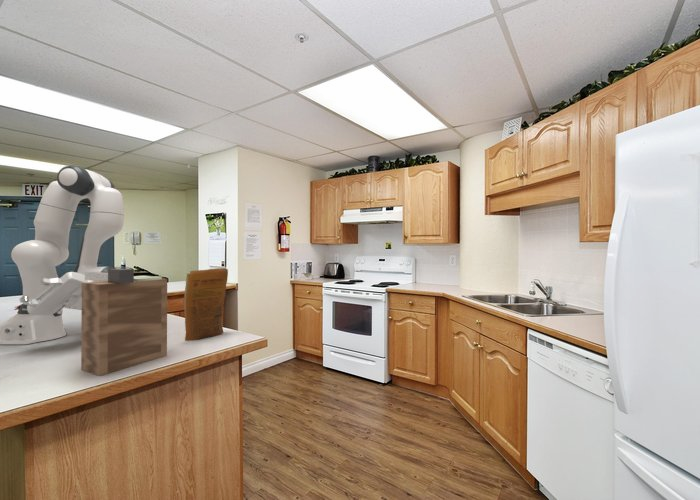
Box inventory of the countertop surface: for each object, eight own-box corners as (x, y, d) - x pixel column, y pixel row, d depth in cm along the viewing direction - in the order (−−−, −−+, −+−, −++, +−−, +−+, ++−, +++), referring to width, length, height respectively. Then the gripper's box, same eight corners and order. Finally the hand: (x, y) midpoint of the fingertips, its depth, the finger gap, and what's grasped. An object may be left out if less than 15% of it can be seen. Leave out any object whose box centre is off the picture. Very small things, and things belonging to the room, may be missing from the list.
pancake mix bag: (231, 333, 138) (232, 268, 138) (186, 343, 123) (187, 270, 123) (223, 330, 142) (223, 267, 142) (178, 340, 127) (179, 269, 127)
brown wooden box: (81, 369, 96) (81, 280, 96) (148, 350, 114) (149, 275, 114) (99, 376, 91) (99, 281, 91) (166, 355, 109) (167, 276, 109)
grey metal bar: (81, 279, 103) (81, 267, 103) (96, 278, 107) (96, 266, 107) (119, 283, 94) (119, 270, 94) (133, 282, 98) (133, 269, 98)
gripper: (53, 307, 121) (7, 302, 108) (94, 273, 120) (52, 264, 108) (56, 321, 118) (9, 317, 106) (98, 286, 118) (56, 278, 105)
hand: (31, 290), depth 107 cm, fingers open, 8 cm apart
